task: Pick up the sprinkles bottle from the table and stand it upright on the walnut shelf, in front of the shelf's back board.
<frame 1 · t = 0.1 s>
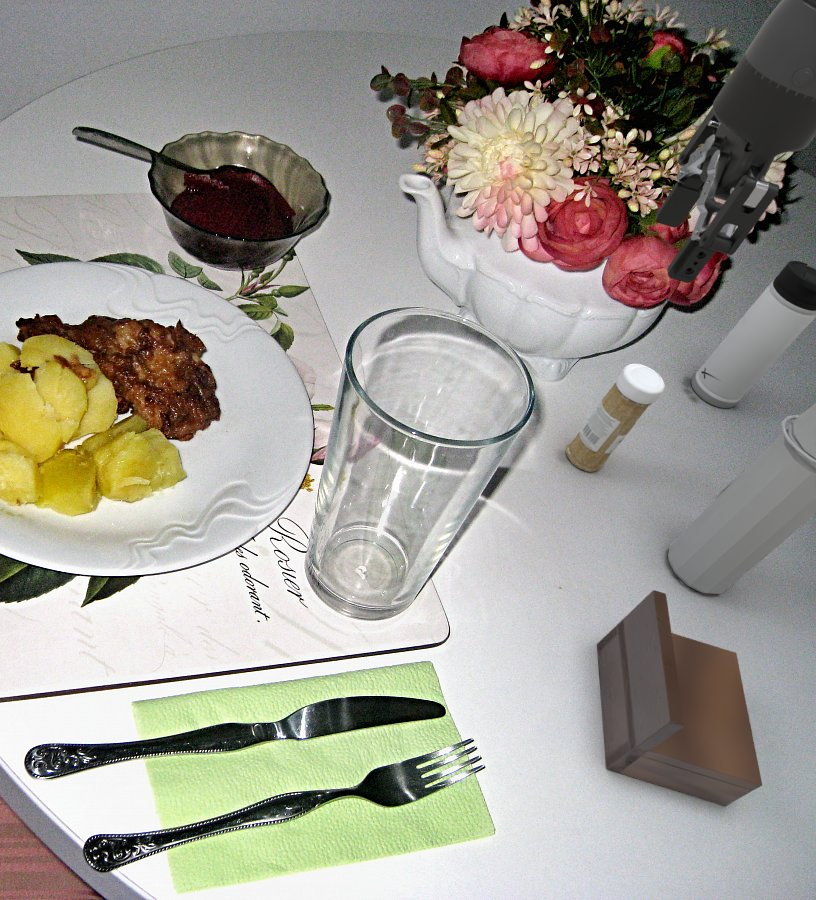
hand: (671, 249, 77), 31 cm above the table, tool pointing down, fingers open, 8 cm apart
shelf: (658, 720, 83), on the table
sprinkles bottle: (581, 459, 105), on the table
travel mug: (712, 393, 118), on the table
water bottle: (693, 563, 97), on the table
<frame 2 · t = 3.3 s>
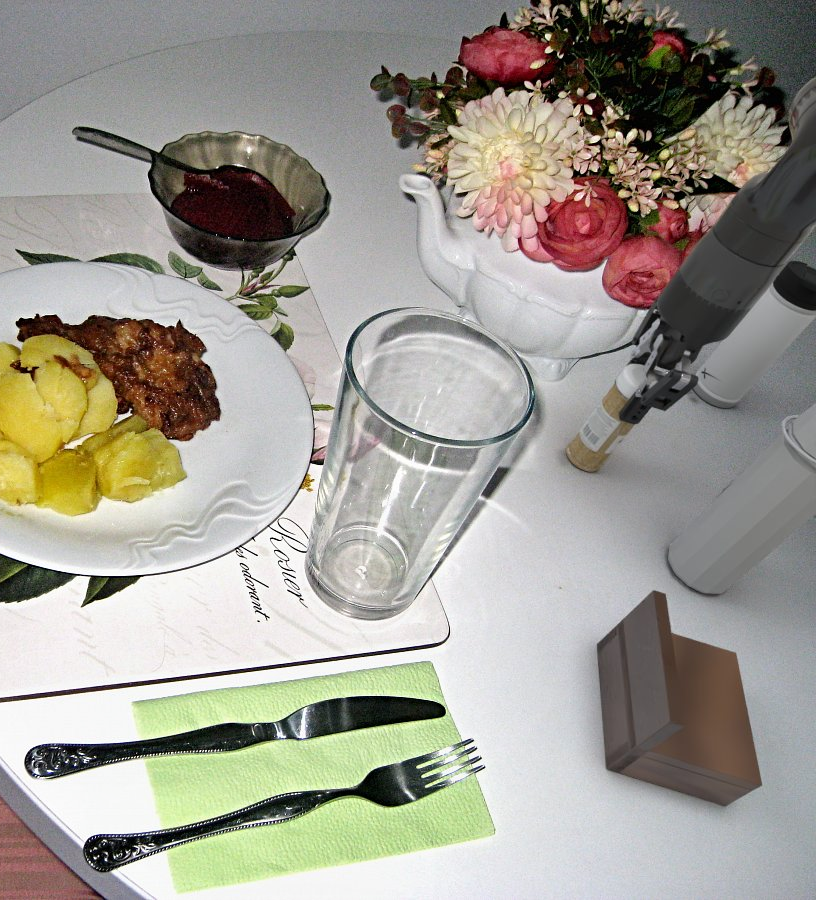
hand: (625, 403, 98), 9 cm above the table, tool pointing down, fingers closed on sprinkles bottle, 4 cm apart
sprinkles bottle: (581, 459, 105), on the table, touching gripper
everything else where it was.
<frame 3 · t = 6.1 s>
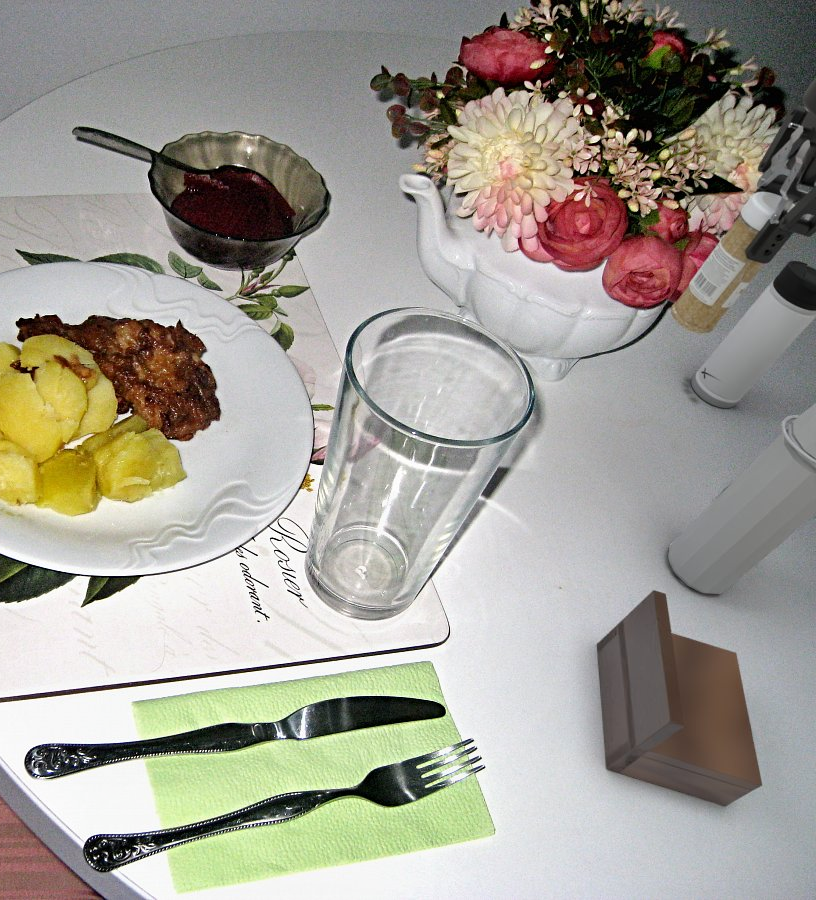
hand: (750, 242, 82), 31 cm above the table, tool pointing down, fingers closed on sprinkles bottle, 4 cm apart
sprinkles bottle: (689, 321, 89), point 21 cm above the table, touching gripper
everything else where it was.
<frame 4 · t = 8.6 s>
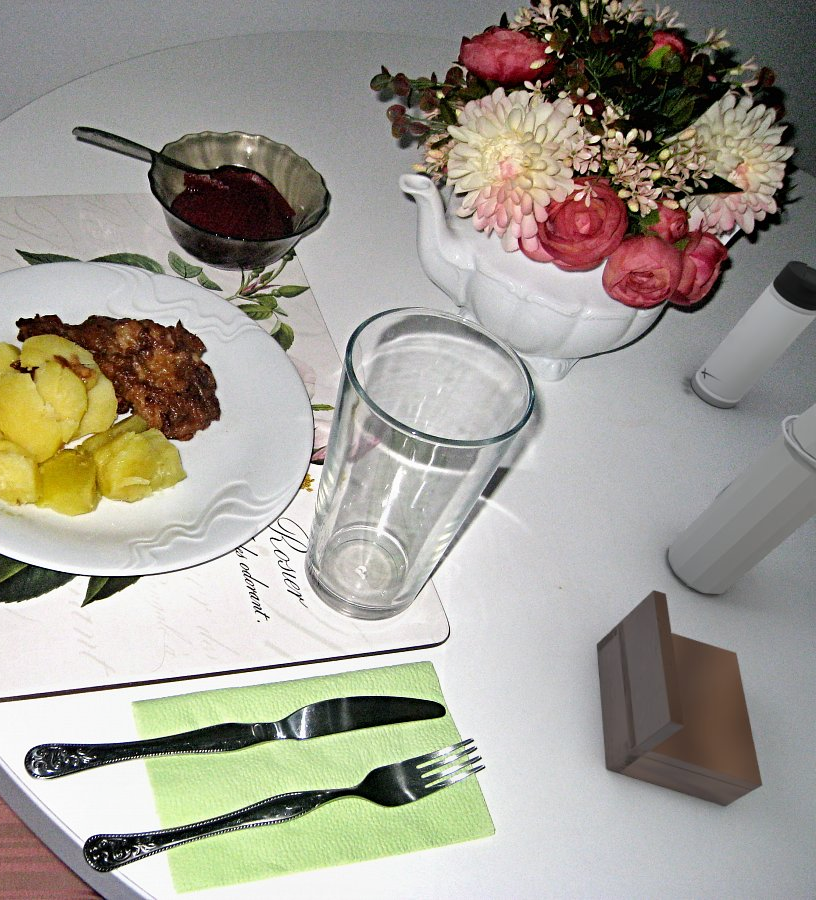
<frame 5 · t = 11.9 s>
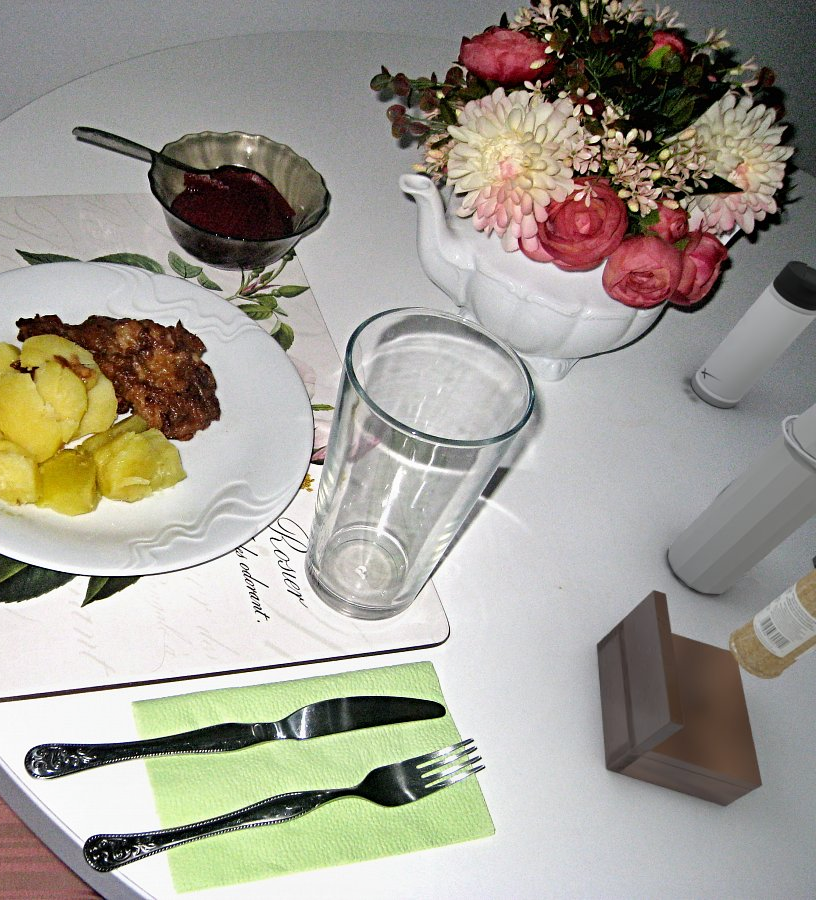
sprinkles bottle: (751, 656, 74), point 13 cm above the table, touching gripper
everything else where it was.
when the fingers open (14 cm above the table, at t = 14.2 s): sprinkles bottle stays where it is, resting on shelf.
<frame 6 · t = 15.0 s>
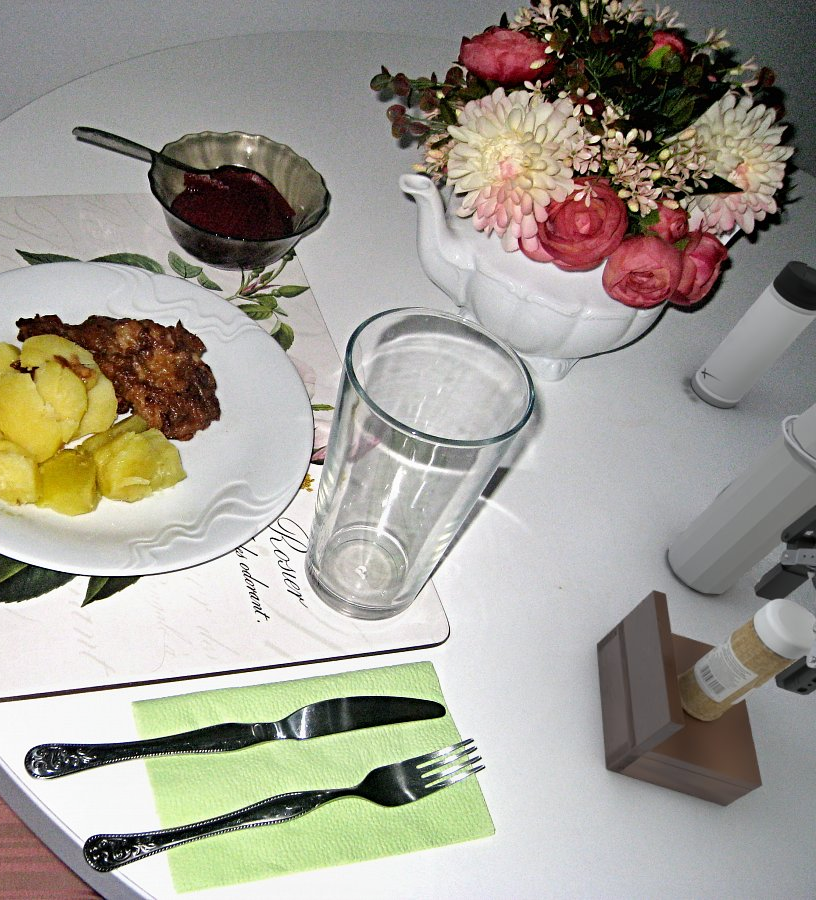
hand: (775, 638, 71), 16 cm above the table, tool pointing down, fingers open, 8 cm apart
sprinkles bottle: (693, 698, 80), point 5 cm above the table, touching shelf
everything else where it was.
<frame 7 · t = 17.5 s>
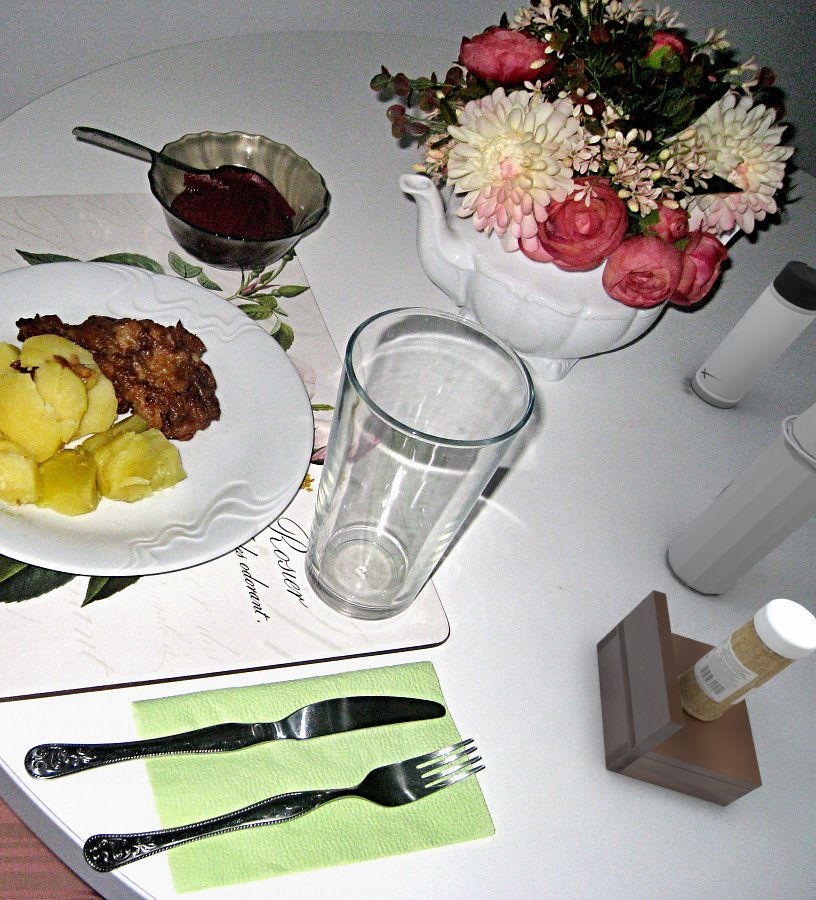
nothing on the table moved.
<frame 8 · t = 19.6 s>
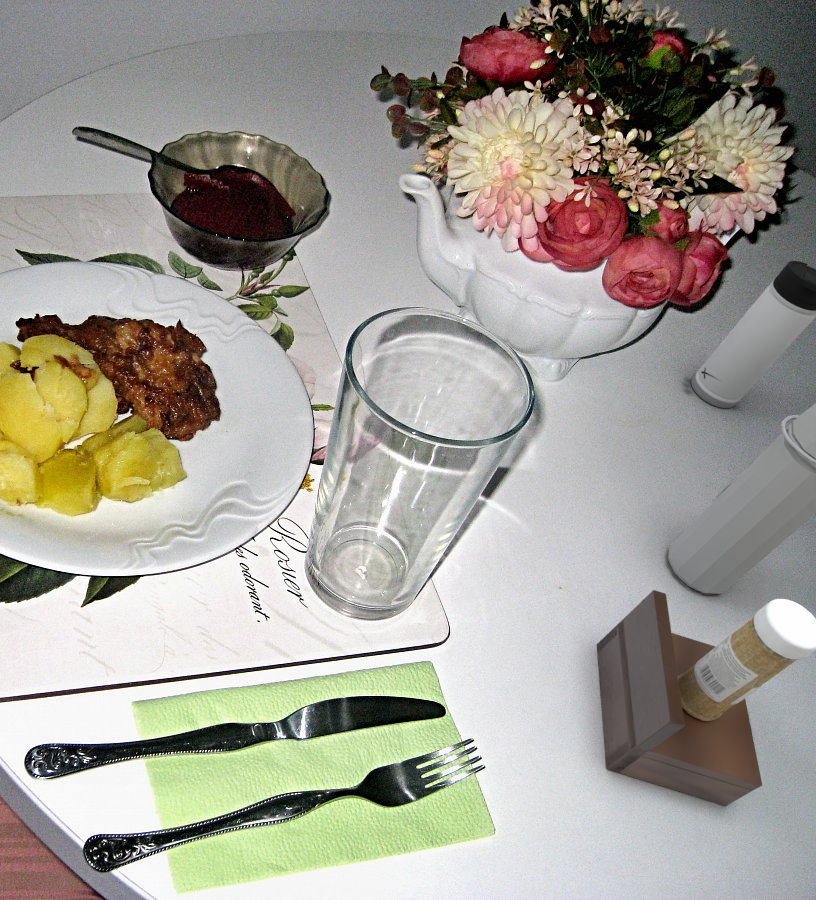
nothing on the table moved.
at the end: sprinkles bottle 0.1 cm off-centre on the shelf, point 4.8 cm above the shelf's base; sprinkles bottle tilted 0°; the gripper is holding nothing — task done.
